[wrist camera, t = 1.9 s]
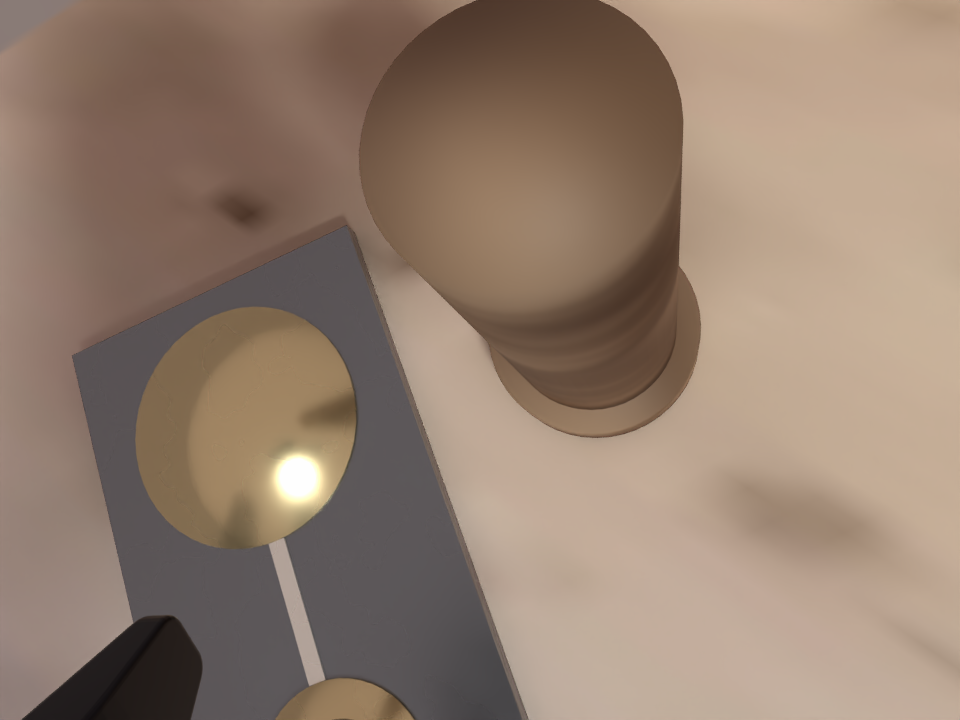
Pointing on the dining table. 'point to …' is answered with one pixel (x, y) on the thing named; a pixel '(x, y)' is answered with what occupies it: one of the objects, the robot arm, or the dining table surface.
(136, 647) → the robot arm
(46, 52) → the dining table surface
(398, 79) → the walnut post
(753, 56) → the dining table surface
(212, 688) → the gauge plate
